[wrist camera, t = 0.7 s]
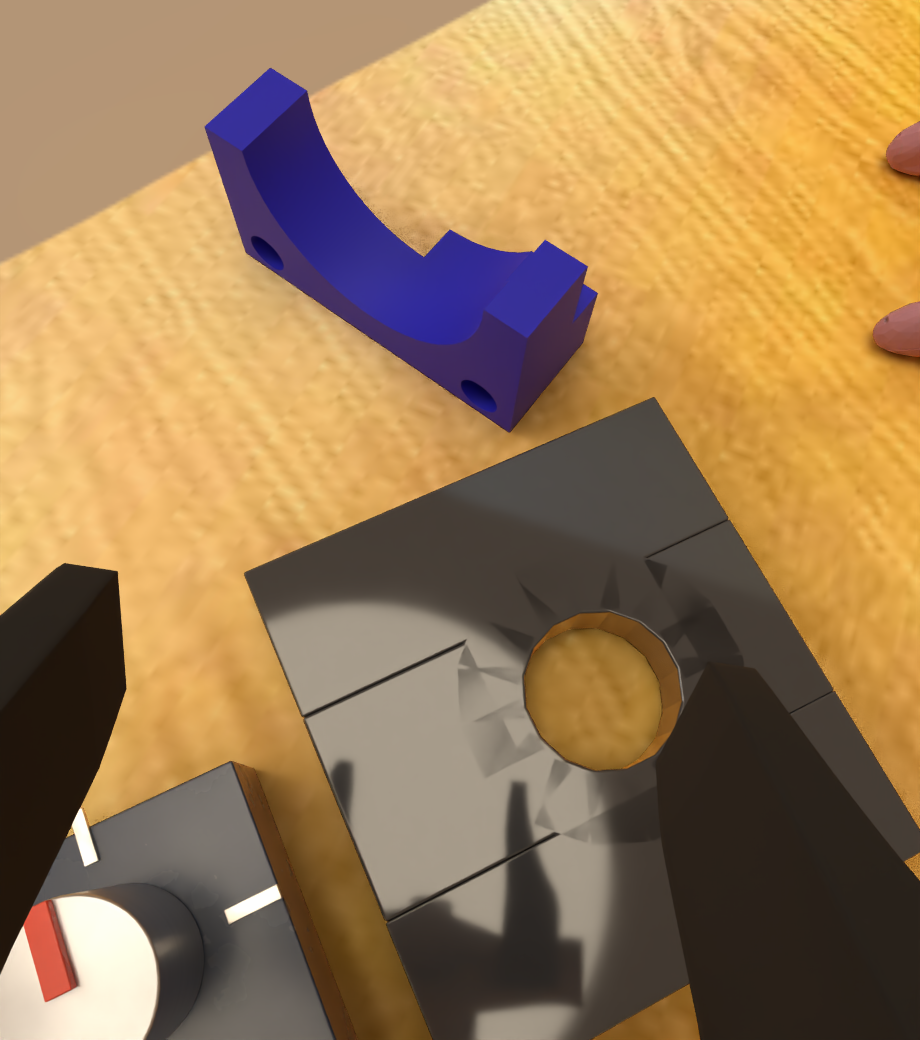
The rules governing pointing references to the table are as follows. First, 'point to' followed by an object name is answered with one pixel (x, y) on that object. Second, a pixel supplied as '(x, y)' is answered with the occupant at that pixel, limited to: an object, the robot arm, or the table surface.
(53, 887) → the rotary dial switch
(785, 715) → the robot arm
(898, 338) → the video game controller
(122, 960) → the tap knob
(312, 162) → the blue semicircular bracket
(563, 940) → the dark marbled square slab
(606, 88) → the table surface
